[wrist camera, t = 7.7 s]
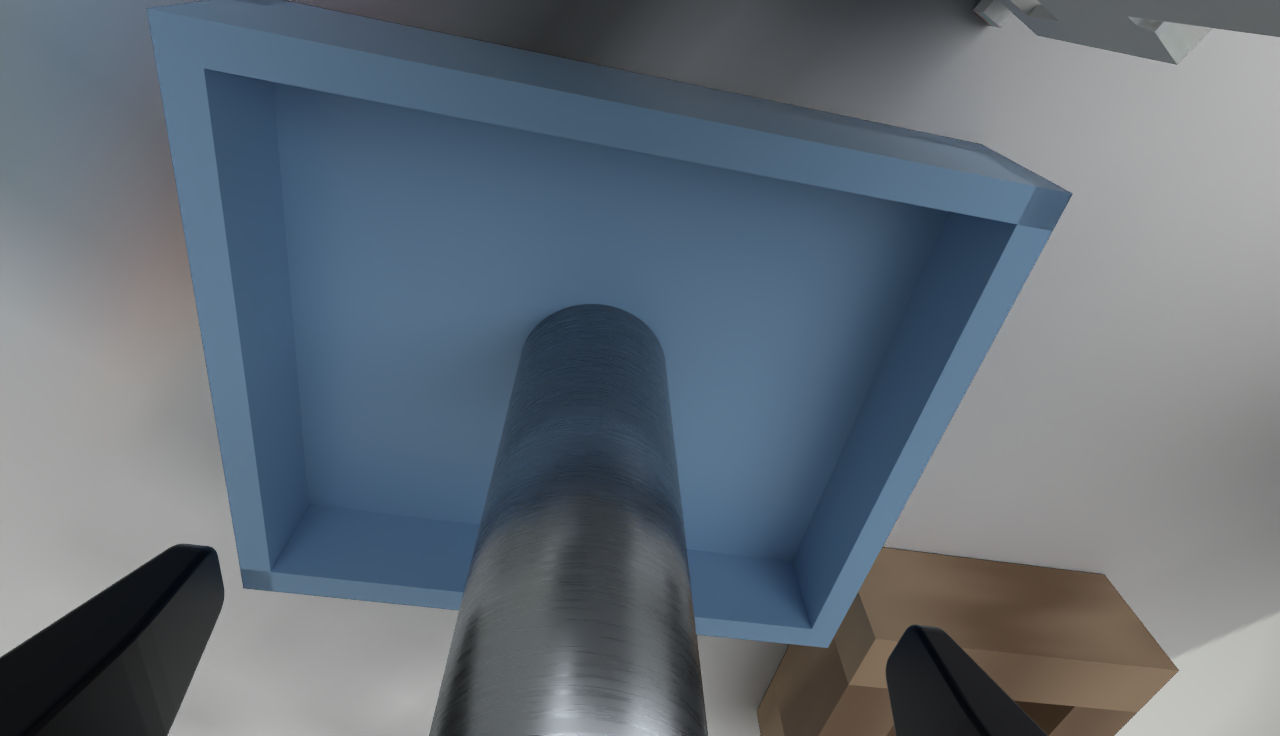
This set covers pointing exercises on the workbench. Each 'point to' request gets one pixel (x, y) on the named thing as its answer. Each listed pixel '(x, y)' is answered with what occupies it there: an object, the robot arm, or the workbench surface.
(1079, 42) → the circuit breaker
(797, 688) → the hole block
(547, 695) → the pin
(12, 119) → the workbench surface
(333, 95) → the tray
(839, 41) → the workbench surface
